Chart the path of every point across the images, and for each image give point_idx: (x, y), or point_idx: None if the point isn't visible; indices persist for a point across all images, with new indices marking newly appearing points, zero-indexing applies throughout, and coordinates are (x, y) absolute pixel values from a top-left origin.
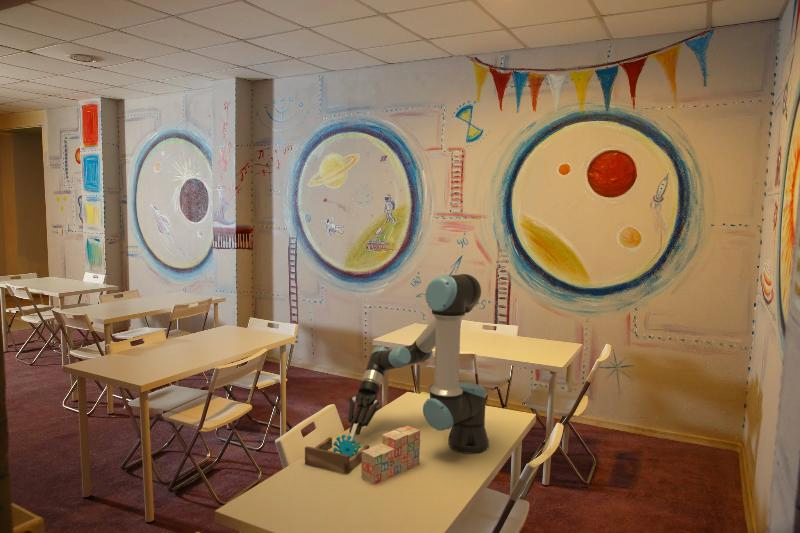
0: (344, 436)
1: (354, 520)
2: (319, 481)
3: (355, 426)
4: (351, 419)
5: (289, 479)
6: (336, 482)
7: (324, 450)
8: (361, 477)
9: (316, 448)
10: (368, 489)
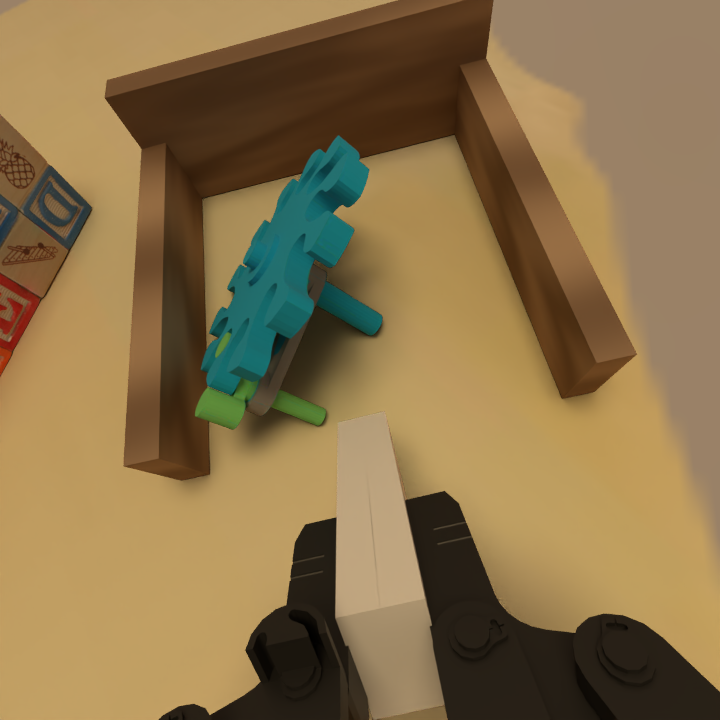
0: (312, 238)
1: (8, 28)
2: None
3: (360, 562)
4: (594, 712)
5: None
6: None
7: (316, 33)
8: (90, 206)
9: (396, 16)
10: None
